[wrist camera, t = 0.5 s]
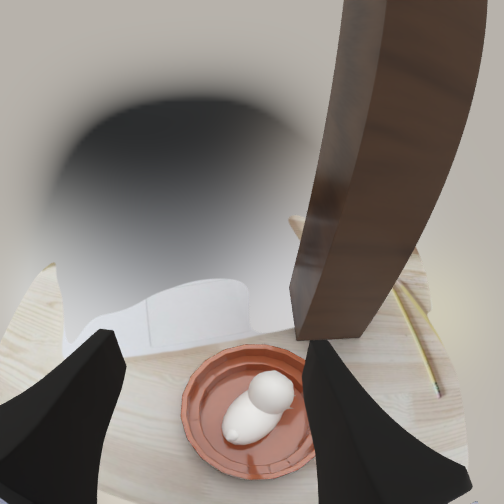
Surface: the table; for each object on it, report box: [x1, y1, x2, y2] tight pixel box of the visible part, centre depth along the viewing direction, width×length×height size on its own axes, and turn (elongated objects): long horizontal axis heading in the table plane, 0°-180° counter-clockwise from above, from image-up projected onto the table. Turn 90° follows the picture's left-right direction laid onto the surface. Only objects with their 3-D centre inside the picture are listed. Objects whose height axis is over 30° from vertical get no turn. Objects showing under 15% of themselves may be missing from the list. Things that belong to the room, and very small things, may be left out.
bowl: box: [181, 344, 315, 480], centre depth 23 cm, size 13×13×4 cm
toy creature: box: [222, 370, 296, 445], centre depth 21 cm, size 5×8×6 cm, turn 140°
